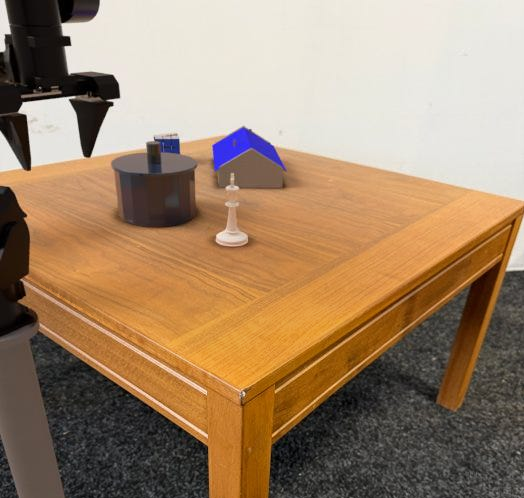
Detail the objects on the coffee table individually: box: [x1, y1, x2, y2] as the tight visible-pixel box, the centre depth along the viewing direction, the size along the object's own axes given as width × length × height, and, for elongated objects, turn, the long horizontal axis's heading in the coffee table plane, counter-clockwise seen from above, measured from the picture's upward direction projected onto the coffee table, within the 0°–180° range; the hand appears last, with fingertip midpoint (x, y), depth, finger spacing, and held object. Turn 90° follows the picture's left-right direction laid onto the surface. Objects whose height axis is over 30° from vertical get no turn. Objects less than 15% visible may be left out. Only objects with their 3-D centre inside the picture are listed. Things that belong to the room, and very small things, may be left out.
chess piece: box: [215, 173, 249, 248], centre depth 81 cm, size 5×5×10 cm
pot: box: [113, 169, 197, 228], centre depth 90 cm, size 13×13×8 cm
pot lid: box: [110, 140, 198, 177], centre depth 87 cm, size 14×14×4 cm
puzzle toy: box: [153, 132, 181, 154], centre depth 120 cm, size 6×5×6 cm
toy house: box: [211, 125, 287, 189], centre depth 114 cm, size 22×14×7 cm, turn 6°
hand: (58, 163), depth 72 cm, fingers open, 9 cm apart
